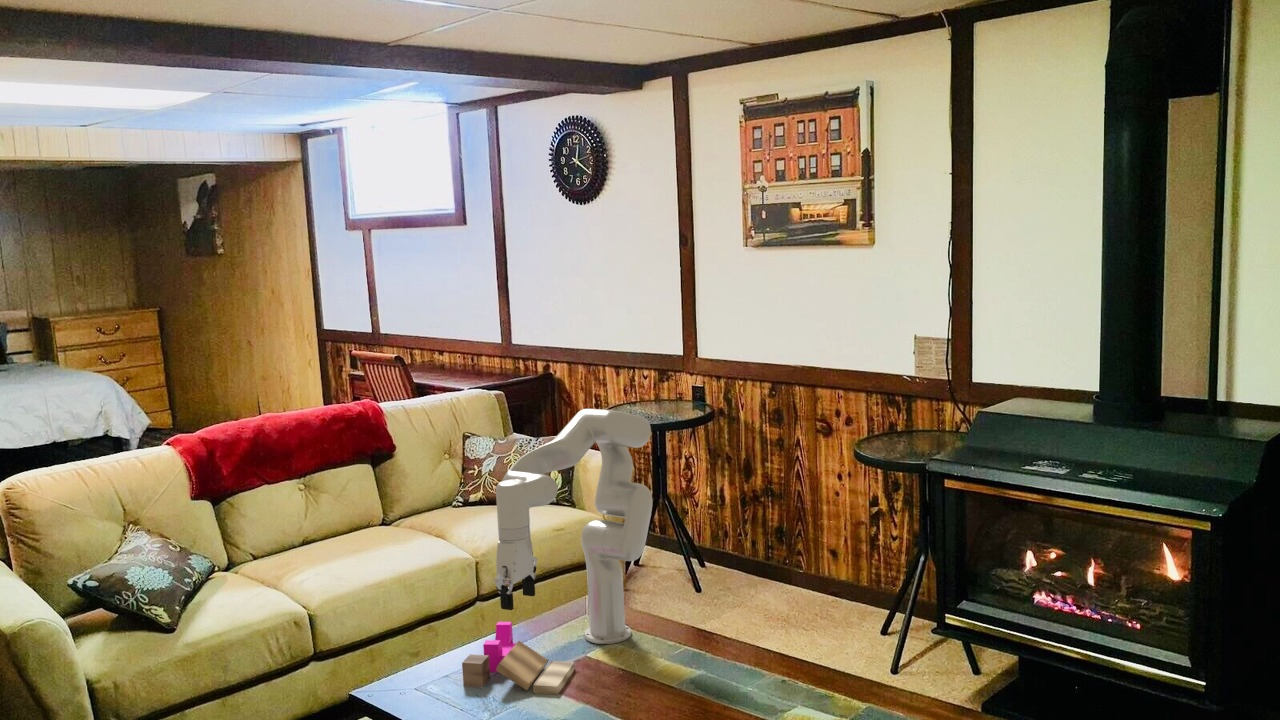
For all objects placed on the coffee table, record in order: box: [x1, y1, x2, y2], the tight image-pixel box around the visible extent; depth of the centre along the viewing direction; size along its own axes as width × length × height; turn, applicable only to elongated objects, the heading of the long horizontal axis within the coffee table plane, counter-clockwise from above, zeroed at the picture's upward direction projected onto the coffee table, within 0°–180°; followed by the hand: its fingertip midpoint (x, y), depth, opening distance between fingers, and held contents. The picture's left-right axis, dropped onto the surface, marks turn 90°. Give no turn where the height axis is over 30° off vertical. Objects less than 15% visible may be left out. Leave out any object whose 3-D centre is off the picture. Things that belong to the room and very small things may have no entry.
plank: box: [496, 640, 550, 691], centre depth 251 cm, size 14×9×2 cm
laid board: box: [532, 660, 576, 696], centre depth 250 cm, size 14×6×2 cm, turn 167°
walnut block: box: [461, 653, 491, 688], centre depth 251 cm, size 5×5×6 cm
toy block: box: [482, 621, 517, 673], centre depth 264 cm, size 15×6×8 cm, turn 174°
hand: (518, 602), depth 245 cm, fingers open, 9 cm apart
